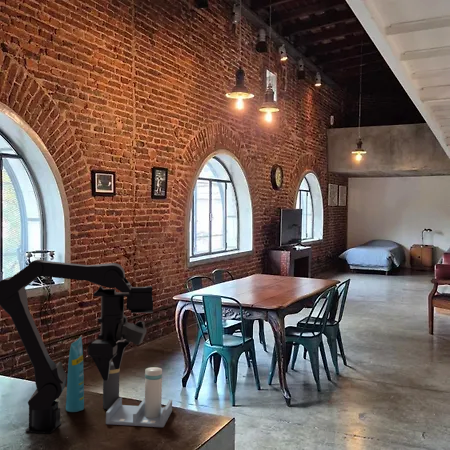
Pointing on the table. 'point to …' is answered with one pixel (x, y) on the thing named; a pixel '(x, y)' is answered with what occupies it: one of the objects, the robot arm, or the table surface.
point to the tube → (75, 378)
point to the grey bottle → (111, 387)
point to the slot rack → (136, 415)
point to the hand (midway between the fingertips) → (111, 374)
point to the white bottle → (153, 392)
